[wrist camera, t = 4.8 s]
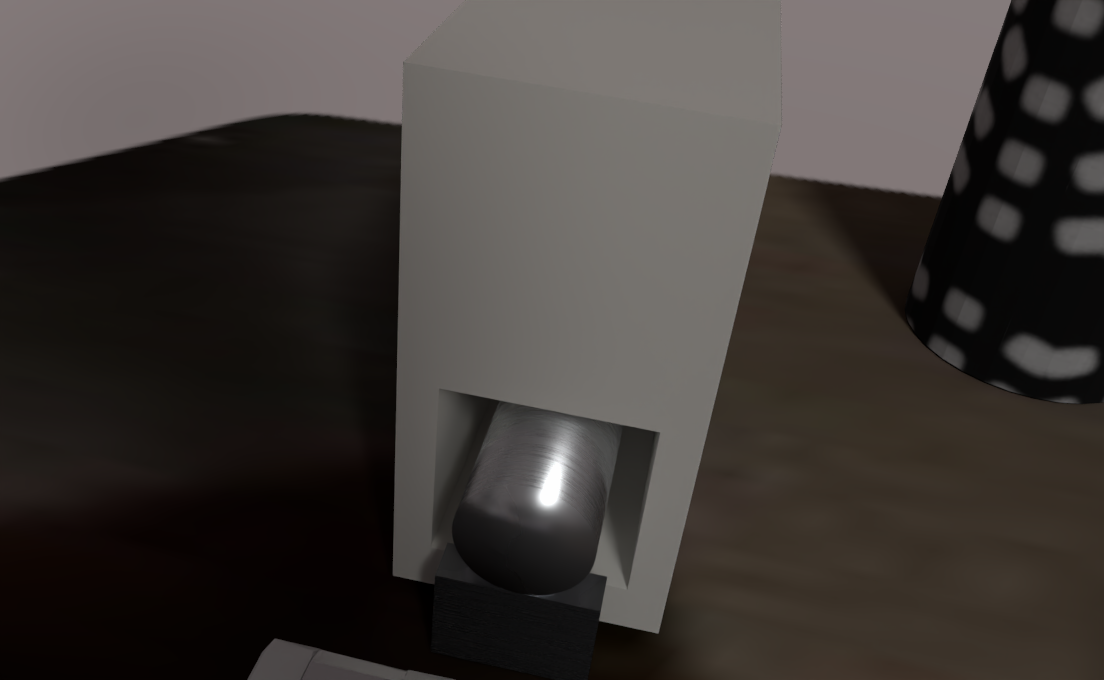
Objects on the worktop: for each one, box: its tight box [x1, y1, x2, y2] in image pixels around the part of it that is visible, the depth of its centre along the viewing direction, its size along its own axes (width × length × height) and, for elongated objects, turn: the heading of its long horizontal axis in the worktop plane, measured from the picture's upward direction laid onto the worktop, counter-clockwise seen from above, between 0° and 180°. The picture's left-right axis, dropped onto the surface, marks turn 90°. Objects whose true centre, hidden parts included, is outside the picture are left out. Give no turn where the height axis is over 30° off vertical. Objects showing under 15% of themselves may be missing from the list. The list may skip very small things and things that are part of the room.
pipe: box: [431, 401, 624, 680], centre depth 30 cm, size 23×5×8 cm, turn 169°
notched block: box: [393, 0, 782, 633], centre depth 24 cm, size 8×6×12 cm
